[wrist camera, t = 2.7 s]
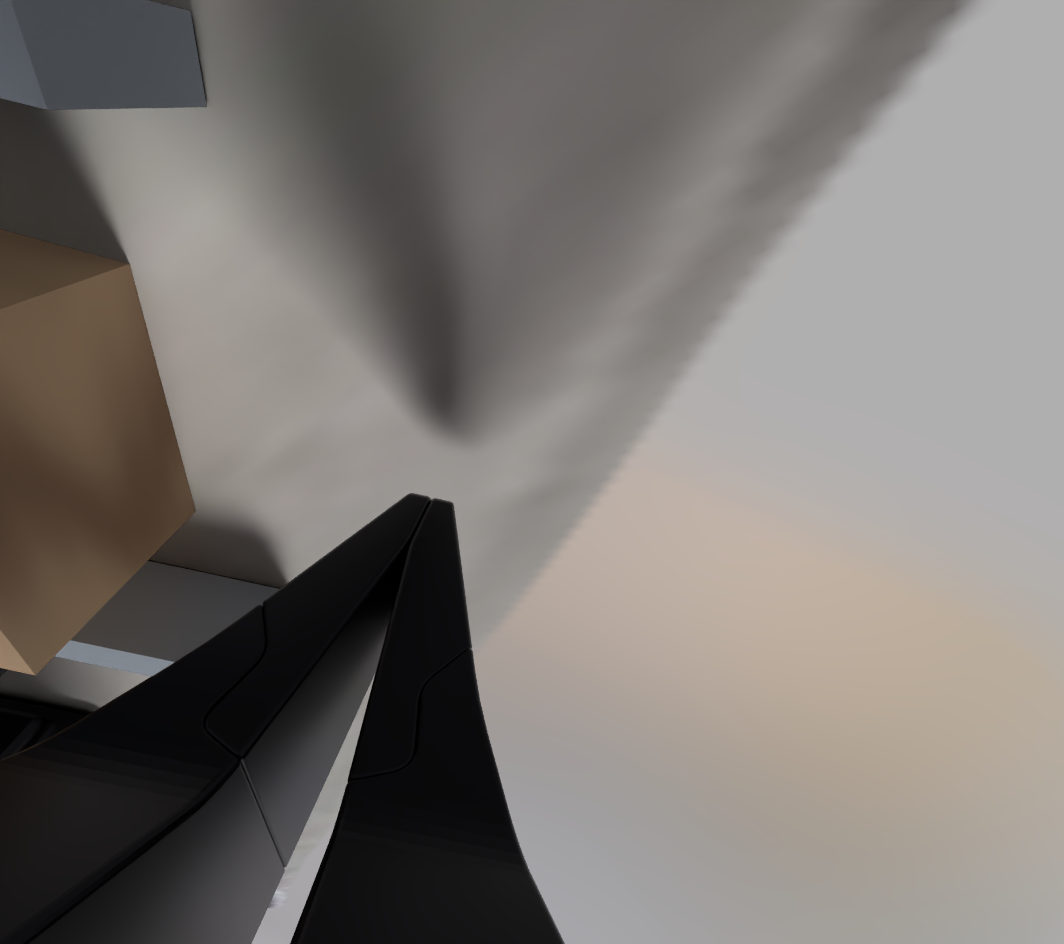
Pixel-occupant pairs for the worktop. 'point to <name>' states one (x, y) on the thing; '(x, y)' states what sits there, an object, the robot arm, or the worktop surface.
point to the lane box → (112, 83)
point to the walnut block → (76, 445)
